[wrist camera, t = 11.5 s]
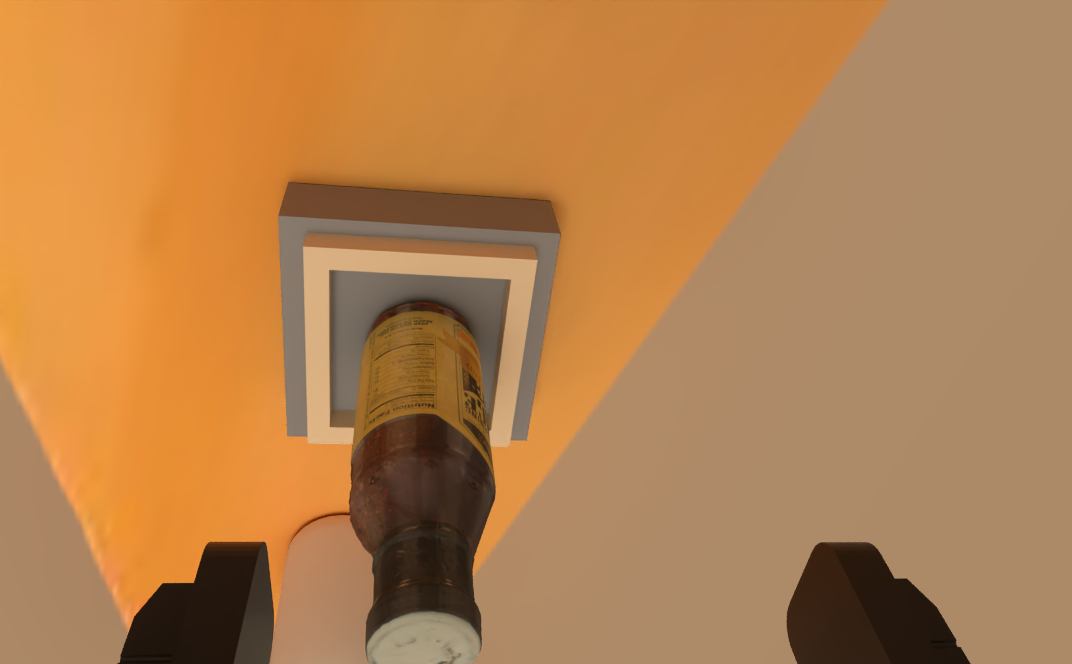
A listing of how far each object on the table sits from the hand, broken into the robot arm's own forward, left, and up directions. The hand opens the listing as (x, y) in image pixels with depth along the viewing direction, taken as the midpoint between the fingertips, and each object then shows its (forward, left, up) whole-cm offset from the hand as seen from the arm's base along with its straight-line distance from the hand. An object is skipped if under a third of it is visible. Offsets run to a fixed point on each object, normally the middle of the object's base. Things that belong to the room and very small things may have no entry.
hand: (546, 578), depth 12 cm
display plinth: (+1, +16, -34) cm, 37 cm away
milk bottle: (+5, +37, -34) cm, 50 cm away
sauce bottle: (+1, +16, -30) cm, 34 cm away
